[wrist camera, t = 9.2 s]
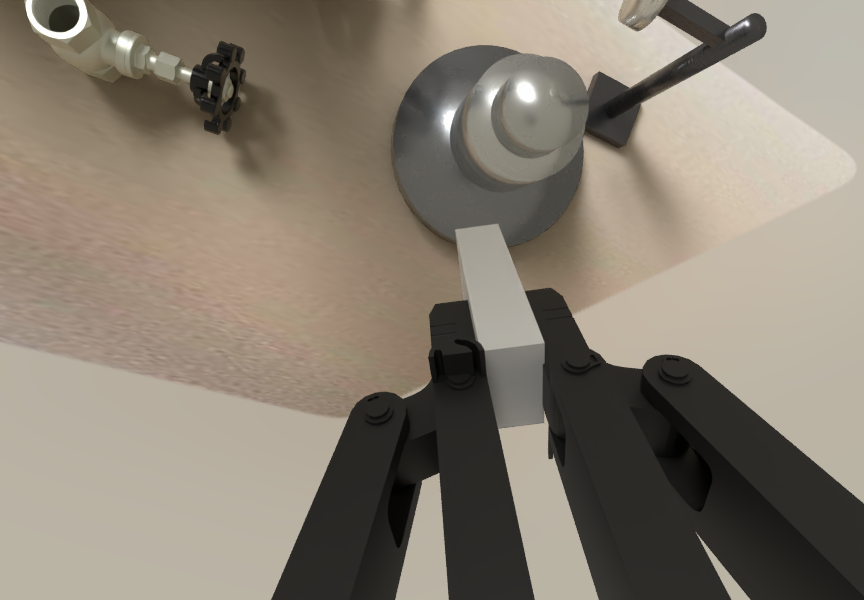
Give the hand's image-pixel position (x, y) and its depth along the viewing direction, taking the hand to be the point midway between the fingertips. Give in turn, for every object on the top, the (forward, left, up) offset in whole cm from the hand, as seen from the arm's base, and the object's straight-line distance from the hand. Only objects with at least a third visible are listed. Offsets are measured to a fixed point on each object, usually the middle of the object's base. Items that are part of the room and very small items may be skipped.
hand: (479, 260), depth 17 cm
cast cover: (+5, +13, -23) cm, 27 cm away
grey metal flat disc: (+4, +12, -25) cm, 28 cm away
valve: (-22, +7, -25) cm, 34 cm away
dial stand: (+12, +21, -25) cm, 34 cm away
